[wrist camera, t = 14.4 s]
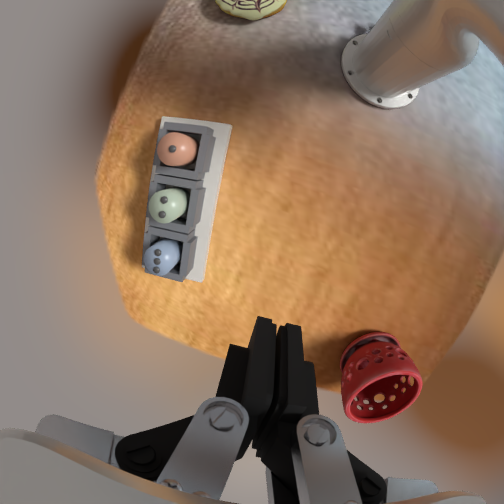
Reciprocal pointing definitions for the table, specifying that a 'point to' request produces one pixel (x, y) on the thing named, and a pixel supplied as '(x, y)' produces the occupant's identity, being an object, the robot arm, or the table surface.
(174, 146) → the button one pip
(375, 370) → the plant pot
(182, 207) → the button two pip
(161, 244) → the button three pip
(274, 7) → the decorated donut
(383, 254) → the table surface
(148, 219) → the button board
